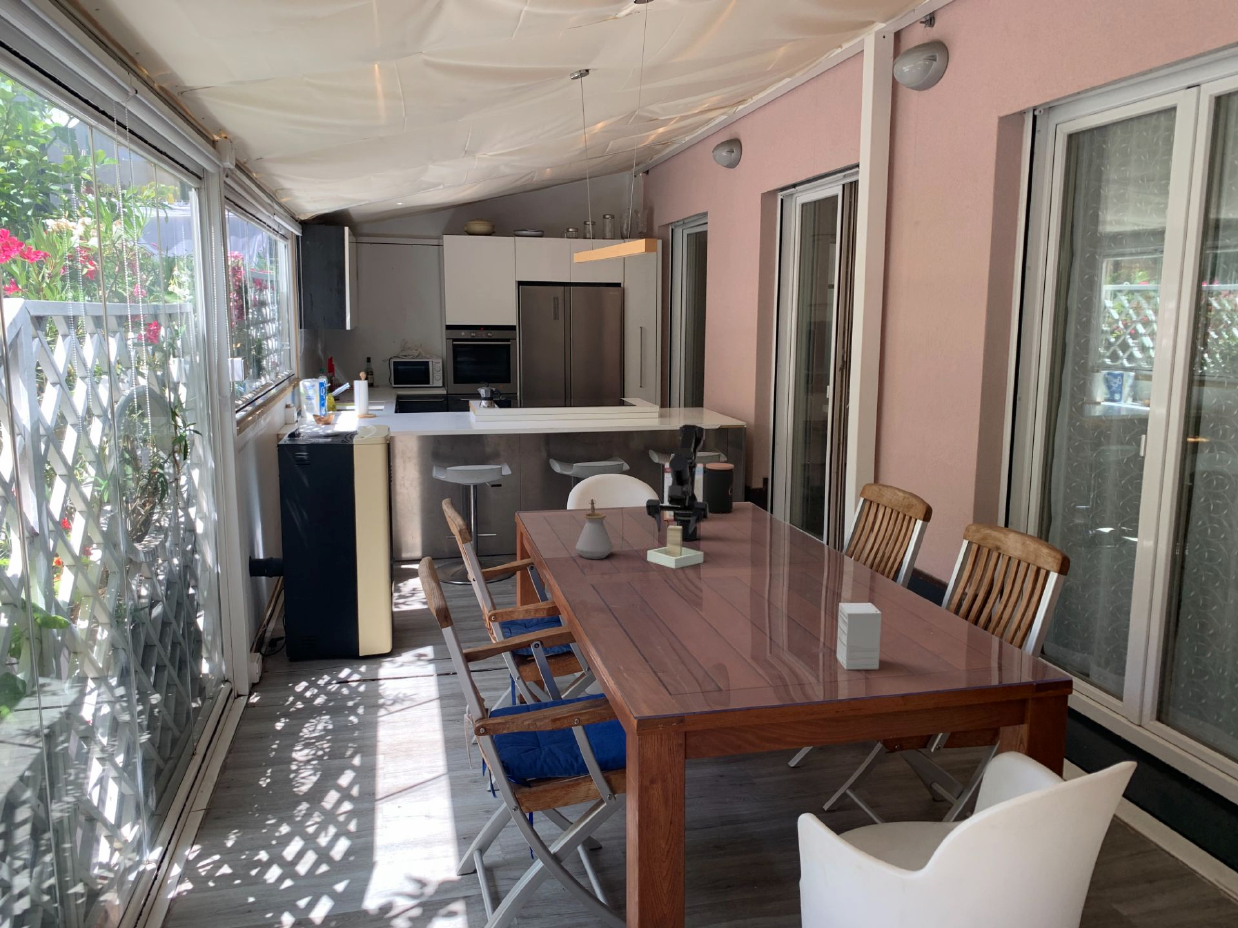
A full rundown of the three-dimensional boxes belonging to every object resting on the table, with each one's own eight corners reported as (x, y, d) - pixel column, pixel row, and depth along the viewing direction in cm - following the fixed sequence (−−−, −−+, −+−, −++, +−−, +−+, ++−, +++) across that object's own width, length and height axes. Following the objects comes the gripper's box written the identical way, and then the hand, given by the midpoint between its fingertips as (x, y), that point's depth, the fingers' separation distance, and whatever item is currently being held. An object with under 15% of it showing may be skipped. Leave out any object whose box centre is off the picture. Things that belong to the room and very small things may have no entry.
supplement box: (868, 657, 206) (872, 602, 204) (879, 670, 199) (882, 612, 197) (835, 657, 206) (838, 601, 204) (844, 670, 199) (847, 612, 197)
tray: (647, 560, 286) (647, 550, 286) (675, 554, 294) (675, 544, 293) (674, 568, 277) (674, 558, 277) (703, 562, 285) (703, 552, 284)
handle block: (668, 557, 287) (669, 525, 286) (681, 558, 287) (682, 526, 285) (666, 560, 283) (667, 528, 282) (679, 561, 283) (680, 529, 281)
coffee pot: (614, 560, 285) (614, 512, 283) (576, 560, 284) (576, 512, 282) (609, 543, 306) (609, 498, 304) (574, 543, 305) (574, 498, 303)
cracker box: (702, 518, 346) (703, 462, 343) (702, 522, 341) (703, 465, 337) (664, 517, 348) (665, 461, 345) (663, 520, 342) (664, 464, 339)
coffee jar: (733, 514, 355) (735, 467, 352) (705, 513, 355) (706, 466, 353) (731, 508, 366) (732, 463, 363) (703, 508, 366) (704, 462, 363)
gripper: (647, 473, 287) (640, 515, 278) (708, 476, 283) (703, 519, 274) (651, 493, 296) (644, 535, 287) (710, 496, 292) (705, 539, 283)
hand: (674, 532), depth 282 cm, fingers open, 9 cm apart
